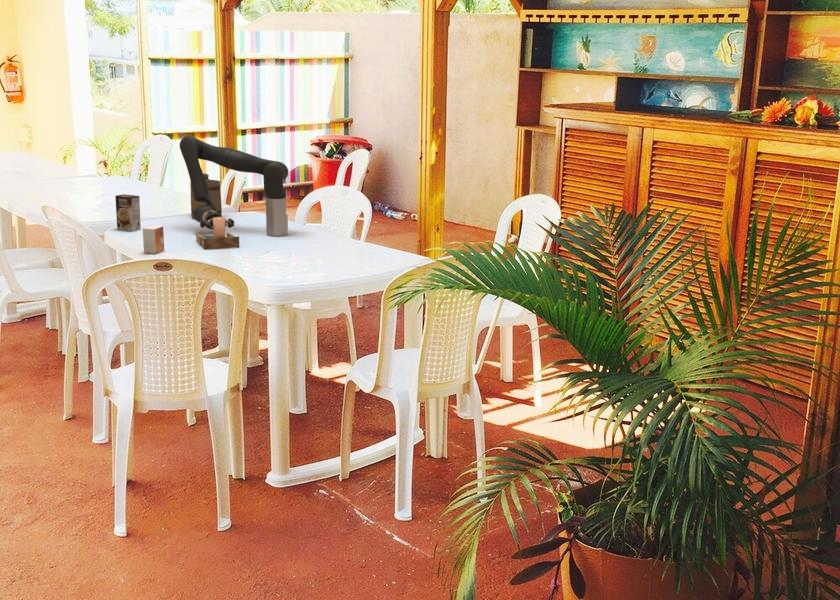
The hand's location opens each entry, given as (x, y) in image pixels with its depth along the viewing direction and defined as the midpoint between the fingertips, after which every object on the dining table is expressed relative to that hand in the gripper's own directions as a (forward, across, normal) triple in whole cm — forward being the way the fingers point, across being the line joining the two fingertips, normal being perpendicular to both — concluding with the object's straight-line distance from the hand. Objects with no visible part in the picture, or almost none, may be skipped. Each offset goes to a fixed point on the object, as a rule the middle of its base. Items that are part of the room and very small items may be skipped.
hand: (220, 226), depth 406 cm
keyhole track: (-7, 0, +9) cm, 12 cm away
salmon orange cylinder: (-2, 0, +9) cm, 9 cm away
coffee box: (-50, -32, +10) cm, 60 cm away
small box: (0, -28, +10) cm, 30 cm away
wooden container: (-71, +8, +10) cm, 72 cm away
